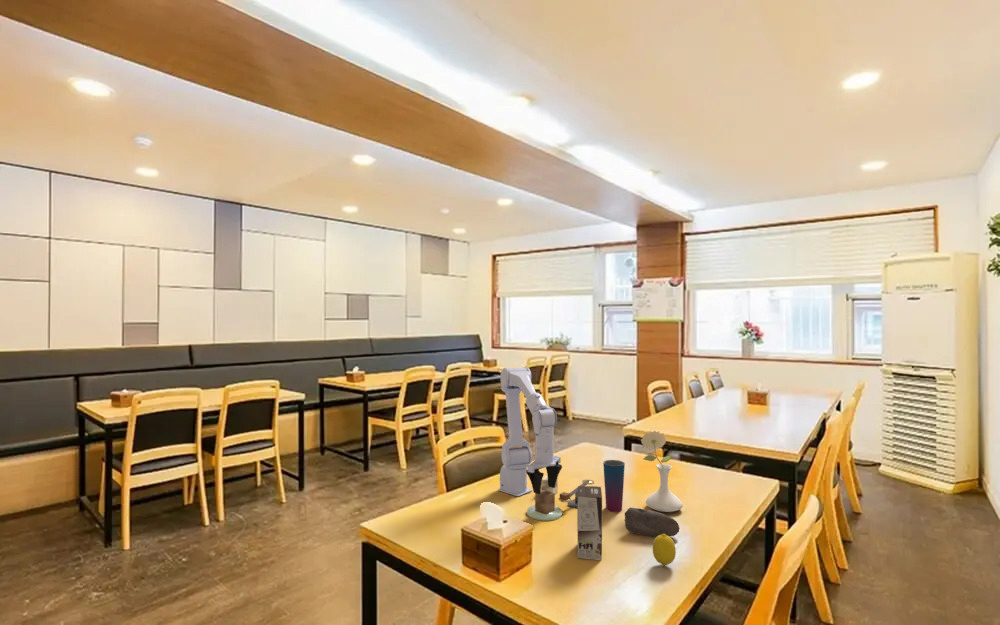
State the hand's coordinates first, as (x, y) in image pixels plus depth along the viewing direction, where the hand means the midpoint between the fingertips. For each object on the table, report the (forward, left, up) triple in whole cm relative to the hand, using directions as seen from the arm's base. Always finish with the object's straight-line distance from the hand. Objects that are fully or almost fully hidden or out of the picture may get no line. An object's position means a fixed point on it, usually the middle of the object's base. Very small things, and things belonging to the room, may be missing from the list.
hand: (544, 490), depth 164 cm
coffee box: (+25, -13, -8) cm, 29 cm away
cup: (+14, +18, -8) cm, 24 cm away
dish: (0, 0, -7) cm, 7 cm away
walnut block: (0, 0, -7) cm, 7 cm away
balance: (+3, +13, -7) cm, 16 cm away
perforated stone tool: (+32, +8, -8) cm, 34 cm away
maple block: (-10, +15, -8) cm, 20 cm away
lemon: (+43, -7, -8) cm, 44 cm away
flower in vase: (+25, +29, -8) cm, 39 cm away
